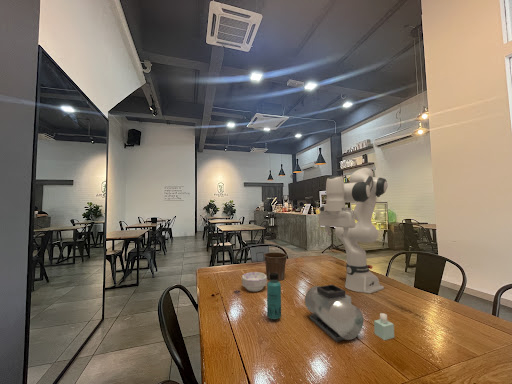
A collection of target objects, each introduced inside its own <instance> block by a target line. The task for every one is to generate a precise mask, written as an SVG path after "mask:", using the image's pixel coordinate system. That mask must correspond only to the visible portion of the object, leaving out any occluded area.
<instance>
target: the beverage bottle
mask: <svg viewBox="0 0 512 384" xmlns="http://www.w3.org/2000/svg"><path fill="white" fill-rule="evenodd" d="M269 279H271V280H269ZM269 279H268V280H269V281H267V285H266V289H267V290H266V291H267V292H266V297H267V298H266V303H267V304H266V308H267V309H266V311H267V312H266V315H267V318H268V319H270V320H278V319H280V318H281V317H282V289H281V288H282V284H281V282H280V281H278V280H277V279H279V277H278V274H277V273H270V277H269Z"/></svg>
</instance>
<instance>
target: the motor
mask: <svg viewBox="0 0 512 384" xmlns="http://www.w3.org/2000/svg"><path fill="white" fill-rule="evenodd" d="M304 303H305V304H304V305H305V307H306V309H307V310H308V311H309V312H310V313H312V314H309V319H310V320H311V321H312V322H313V323H314V324H316V326H318V327H319V328H320V329H321V330H322V331H324V332H325V334H327V335H328V336H329V337H330V338H331V339H332V340H334V342H336V343H339V342H342V341H345V340H347V341H348V340H349V341H350V340H354V339H355V338H357V337H359V334H360V333H361V332H362V329H363V326H364V316H363V313H362V311H361V309H360V308H358V306H356V305H354V304H352V296H351V295H349V294H346V290H345V289H343V288H341V287H339V286H336V285H335V284H328V285H327V284H325V285H322V286H321V285H314V286H312V287H310V288H309V289H308V290H307V292H306V294H305V297H304Z"/></svg>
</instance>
